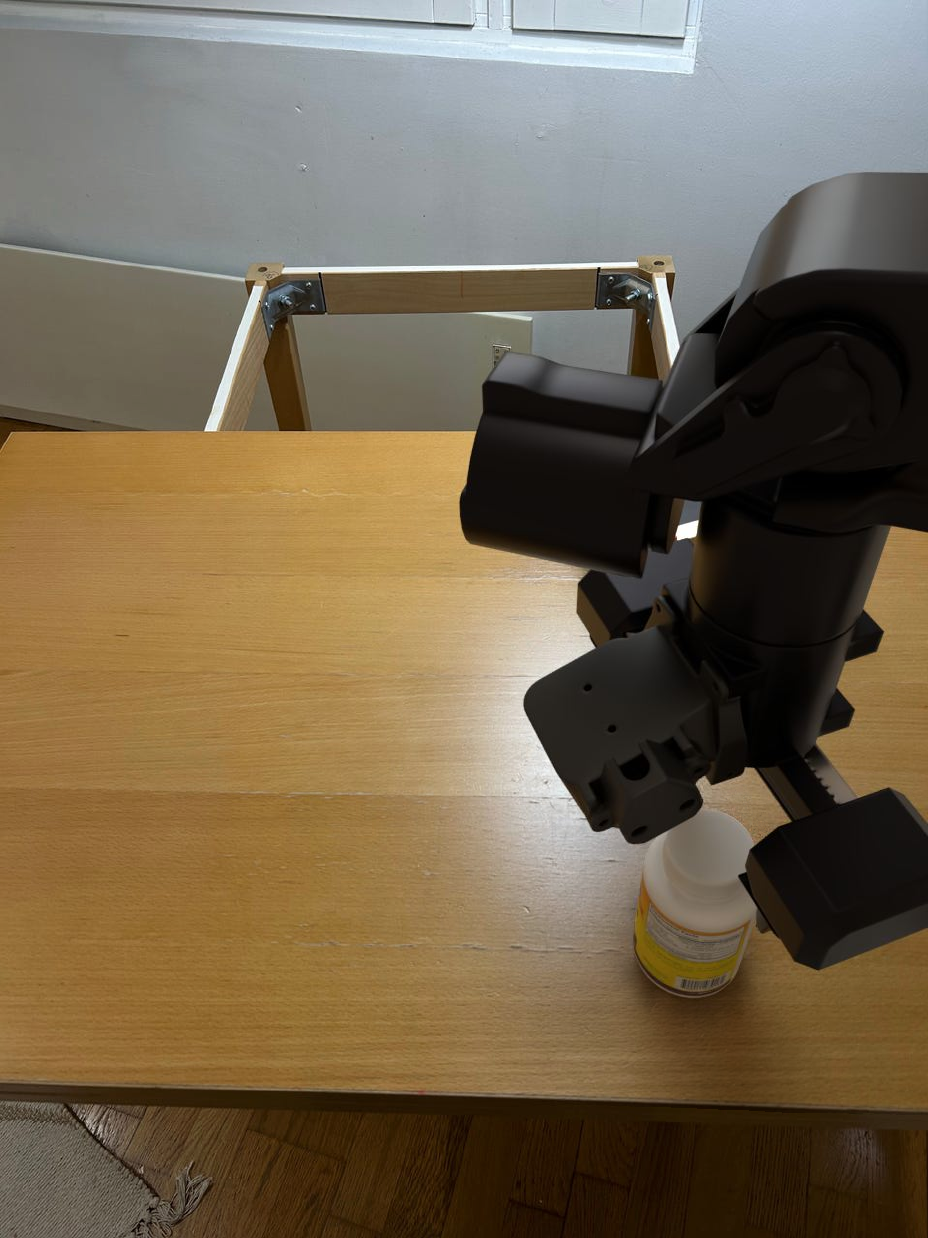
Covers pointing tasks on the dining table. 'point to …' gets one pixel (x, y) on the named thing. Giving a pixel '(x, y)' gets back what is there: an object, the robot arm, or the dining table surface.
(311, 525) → the dining table surface
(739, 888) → the supplement bottle
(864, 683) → the dining table surface
